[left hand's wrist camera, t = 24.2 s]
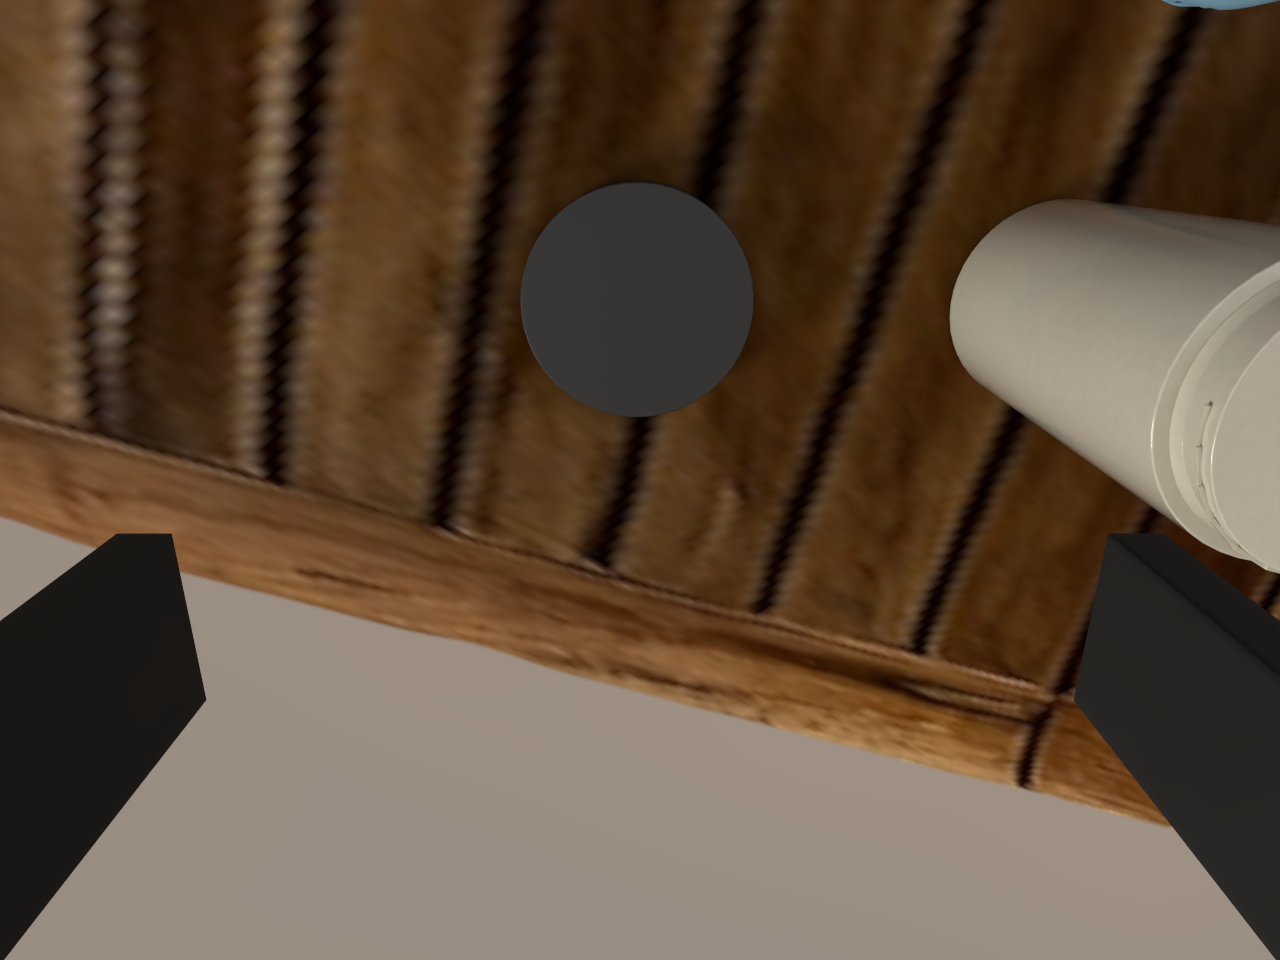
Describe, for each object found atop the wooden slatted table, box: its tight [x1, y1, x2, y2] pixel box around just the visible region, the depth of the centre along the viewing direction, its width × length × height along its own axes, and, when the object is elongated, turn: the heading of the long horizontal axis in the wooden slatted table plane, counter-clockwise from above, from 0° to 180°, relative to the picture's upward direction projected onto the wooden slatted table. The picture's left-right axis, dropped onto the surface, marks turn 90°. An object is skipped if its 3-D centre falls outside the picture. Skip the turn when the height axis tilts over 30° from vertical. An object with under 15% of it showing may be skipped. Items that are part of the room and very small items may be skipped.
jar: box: [950, 199, 1280, 573], centre depth 31 cm, size 9×9×19 cm
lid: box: [520, 180, 754, 417], centre depth 39 cm, size 10×10×2 cm
